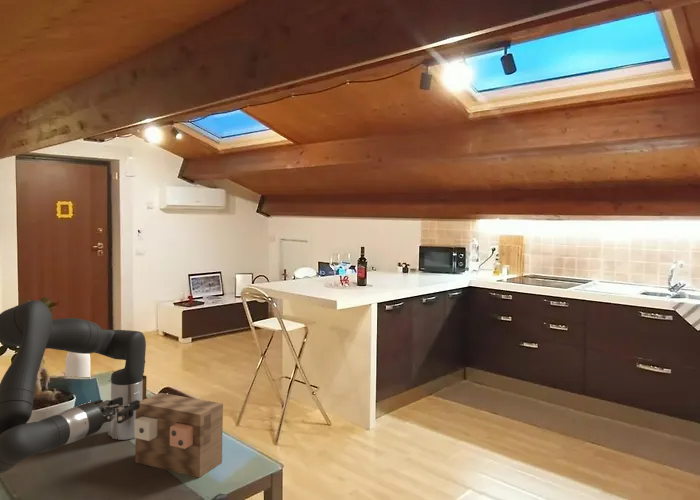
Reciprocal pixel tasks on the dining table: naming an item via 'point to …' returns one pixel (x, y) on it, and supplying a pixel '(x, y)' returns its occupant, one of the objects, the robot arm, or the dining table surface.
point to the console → (205, 436)
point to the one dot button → (146, 428)
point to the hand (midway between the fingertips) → (129, 402)
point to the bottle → (77, 364)
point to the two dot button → (181, 435)
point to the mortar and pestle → (144, 387)
